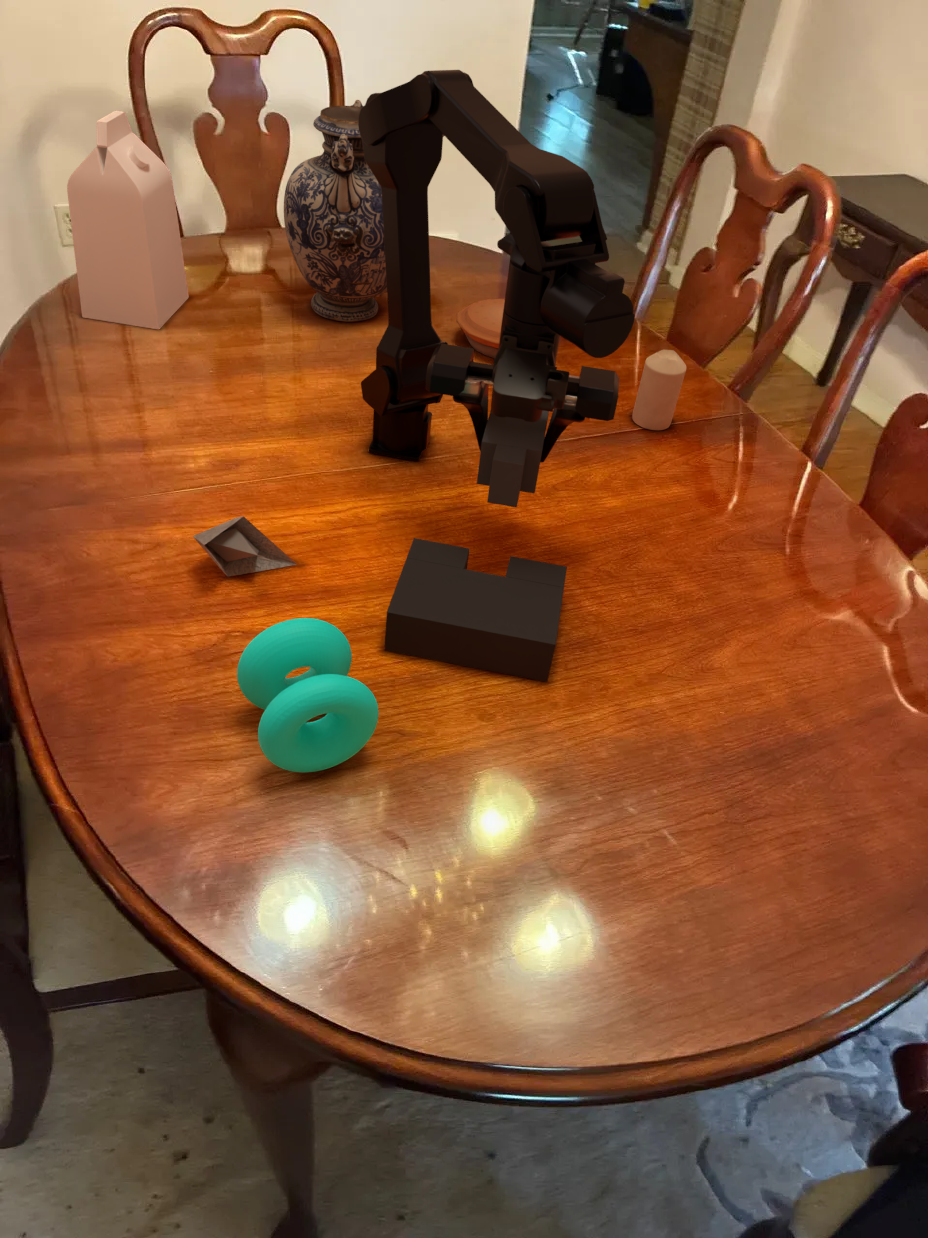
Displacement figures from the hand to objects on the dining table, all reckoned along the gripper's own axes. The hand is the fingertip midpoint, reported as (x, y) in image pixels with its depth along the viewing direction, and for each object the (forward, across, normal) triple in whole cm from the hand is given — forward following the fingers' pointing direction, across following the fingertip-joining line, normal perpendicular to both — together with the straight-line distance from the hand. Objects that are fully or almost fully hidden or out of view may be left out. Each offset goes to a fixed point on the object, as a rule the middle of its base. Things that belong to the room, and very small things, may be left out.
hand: (512, 455), depth 97 cm
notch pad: (+11, -1, -15) cm, 19 cm away
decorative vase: (+11, -31, +54) cm, 63 cm away
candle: (+11, +17, +34) cm, 40 cm away
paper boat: (+11, -26, -13) cm, 31 cm away
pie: (+11, -6, +50) cm, 52 cm away
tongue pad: (+1, 0, -1) cm, 2 cm away
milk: (+11, -61, +42) cm, 75 cm away
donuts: (+12, -13, -33) cm, 37 cm away
